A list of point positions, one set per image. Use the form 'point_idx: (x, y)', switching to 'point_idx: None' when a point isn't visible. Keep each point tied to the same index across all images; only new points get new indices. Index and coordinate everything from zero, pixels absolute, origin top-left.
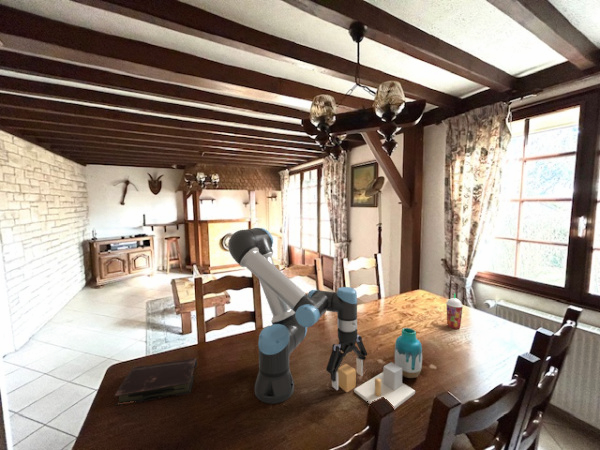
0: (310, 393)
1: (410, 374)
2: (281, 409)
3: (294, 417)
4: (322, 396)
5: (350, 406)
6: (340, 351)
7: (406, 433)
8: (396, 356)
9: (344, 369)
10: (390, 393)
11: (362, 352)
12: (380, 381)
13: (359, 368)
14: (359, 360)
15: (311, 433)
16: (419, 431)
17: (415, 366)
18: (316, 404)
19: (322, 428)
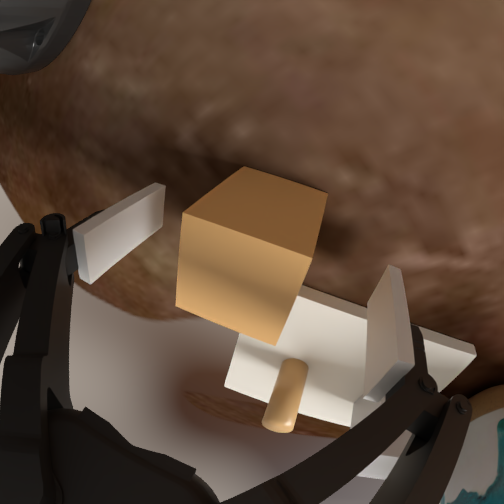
0: (101, 96)
1: None
2: (19, 96)
3: (27, 149)
4: (124, 152)
5: (172, 280)
6: (45, 387)
7: (216, 406)
8: (481, 460)
9: (214, 271)
10: (330, 396)
11: (435, 427)
12: (273, 430)
13: (377, 319)
14: (377, 374)
15: (39, 221)
16: (243, 424)
17: None
18: (85, 163)
19: None
